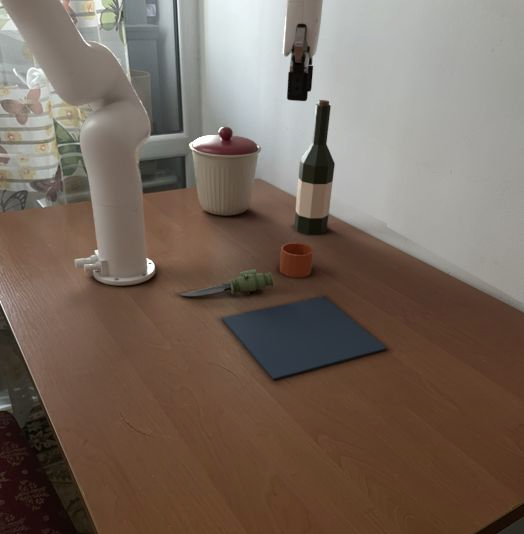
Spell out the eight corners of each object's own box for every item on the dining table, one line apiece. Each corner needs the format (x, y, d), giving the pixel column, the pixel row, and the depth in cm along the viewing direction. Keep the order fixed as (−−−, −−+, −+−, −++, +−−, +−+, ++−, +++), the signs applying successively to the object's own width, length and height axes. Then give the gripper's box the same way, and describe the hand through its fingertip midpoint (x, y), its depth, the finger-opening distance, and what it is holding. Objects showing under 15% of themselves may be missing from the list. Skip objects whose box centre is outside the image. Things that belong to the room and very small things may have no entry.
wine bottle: (324, 236, 135) (340, 105, 118) (291, 232, 136) (302, 102, 120) (328, 224, 142) (343, 99, 125) (296, 220, 143) (307, 96, 126)
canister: (246, 196, 157) (249, 118, 146) (266, 219, 143) (271, 134, 132) (184, 200, 152) (182, 119, 140) (199, 223, 138) (198, 136, 126)
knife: (274, 274, 105) (269, 265, 109) (179, 291, 103) (177, 281, 107) (276, 292, 107) (270, 282, 111) (182, 309, 105) (180, 298, 109)
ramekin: (289, 279, 114) (291, 257, 112) (274, 266, 119) (275, 245, 117) (316, 274, 117) (319, 252, 114) (300, 261, 122) (302, 240, 119)
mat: (273, 380, 85) (273, 378, 85) (221, 319, 99) (221, 317, 99) (386, 349, 94) (386, 347, 94) (323, 298, 108) (323, 296, 108)
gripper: (288, -29, 89) (282, 86, 99) (276, -33, 75) (270, 103, 84) (335, -27, 88) (324, 89, 98) (331, -30, 74) (319, 106, 84)
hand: (299, 95), depth 91 cm, fingers open, 9 cm apart
